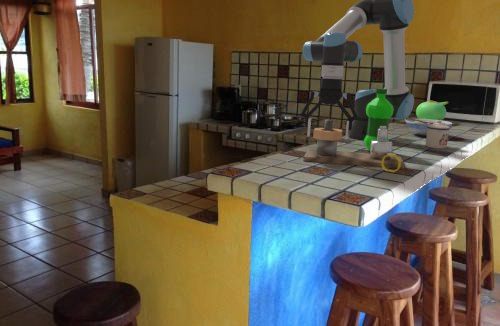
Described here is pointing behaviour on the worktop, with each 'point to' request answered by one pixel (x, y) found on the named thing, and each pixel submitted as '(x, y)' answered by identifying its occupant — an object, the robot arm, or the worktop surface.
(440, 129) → the teacup with lid
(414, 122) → the ramen bowl
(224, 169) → the worktop surface
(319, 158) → the tool board
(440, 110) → the green pumpkin
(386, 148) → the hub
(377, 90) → the plastic bottle
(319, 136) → the octagonal notched ring
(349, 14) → the robot arm
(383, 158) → the watch
